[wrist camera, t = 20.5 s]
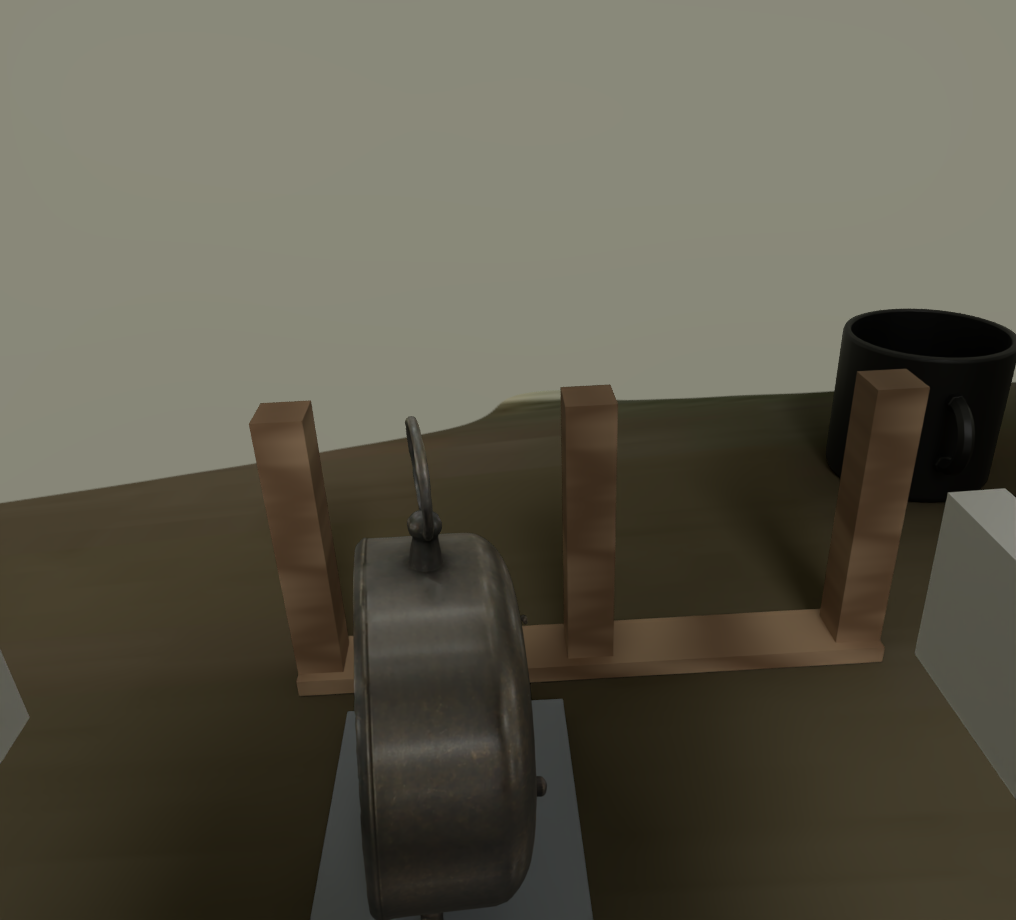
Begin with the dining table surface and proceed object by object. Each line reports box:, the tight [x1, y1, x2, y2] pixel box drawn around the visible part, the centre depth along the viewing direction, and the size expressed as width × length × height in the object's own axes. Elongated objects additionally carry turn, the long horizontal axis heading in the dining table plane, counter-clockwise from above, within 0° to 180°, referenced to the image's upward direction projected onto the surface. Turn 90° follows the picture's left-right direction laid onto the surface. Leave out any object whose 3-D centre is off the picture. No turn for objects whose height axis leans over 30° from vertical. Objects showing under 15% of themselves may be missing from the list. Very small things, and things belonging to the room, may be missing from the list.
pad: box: [310, 699, 593, 920], centre depth 29 cm, size 9×15×1 cm, turn 2°
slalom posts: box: [249, 369, 930, 696], centre depth 36 cm, size 26×3×13 cm, turn 92°
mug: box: [826, 309, 1016, 502], centre depth 51 cm, size 9×12×9 cm
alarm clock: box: [353, 416, 547, 920], centre depth 25 cm, size 11×5×16 cm, turn 8°
